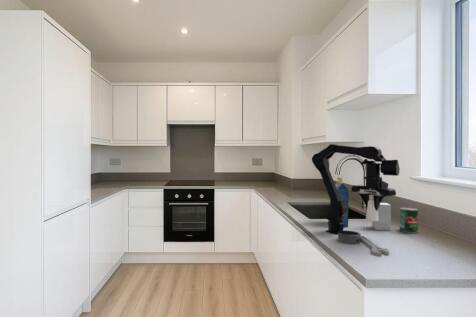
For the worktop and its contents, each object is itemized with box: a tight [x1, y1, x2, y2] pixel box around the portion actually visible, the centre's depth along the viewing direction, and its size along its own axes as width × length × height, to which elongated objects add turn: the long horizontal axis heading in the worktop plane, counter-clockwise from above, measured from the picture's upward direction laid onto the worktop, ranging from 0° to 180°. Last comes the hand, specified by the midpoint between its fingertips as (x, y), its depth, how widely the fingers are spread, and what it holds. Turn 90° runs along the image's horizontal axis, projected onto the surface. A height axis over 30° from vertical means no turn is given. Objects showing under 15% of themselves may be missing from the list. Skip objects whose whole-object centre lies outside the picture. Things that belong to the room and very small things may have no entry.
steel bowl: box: [337, 229, 362, 245], centre depth 133 cm, size 9×9×4 cm
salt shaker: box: [365, 194, 379, 222], centre depth 138 cm, size 5×5×11 cm
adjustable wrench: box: [360, 235, 390, 257], centre depth 126 cm, size 25×6×2 cm, turn 172°
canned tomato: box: [399, 206, 419, 234], centre depth 152 cm, size 8×8×11 cm
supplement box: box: [371, 202, 392, 231], centre depth 157 cm, size 7×7×13 cm
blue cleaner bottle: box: [334, 176, 349, 228], centre depth 166 cm, size 6×12×25 cm, turn 175°
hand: (372, 209), depth 138 cm, fingers closed on salt shaker, 4 cm apart
